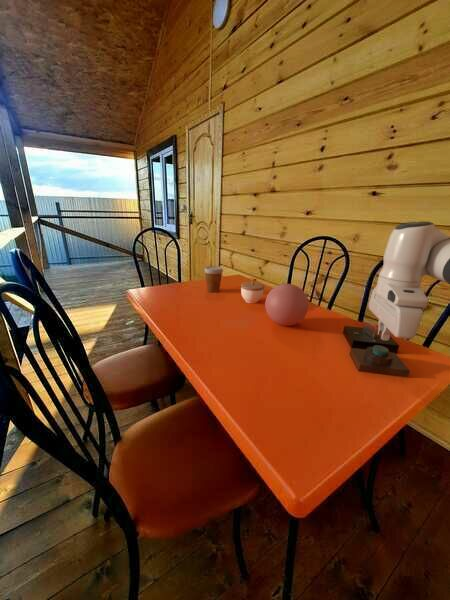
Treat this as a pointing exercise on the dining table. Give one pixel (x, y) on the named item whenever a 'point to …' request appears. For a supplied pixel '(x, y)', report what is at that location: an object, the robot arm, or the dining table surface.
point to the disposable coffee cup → (213, 278)
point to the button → (380, 351)
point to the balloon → (286, 304)
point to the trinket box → (252, 291)
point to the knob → (371, 329)
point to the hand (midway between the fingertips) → (382, 337)
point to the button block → (378, 363)
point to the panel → (367, 339)
